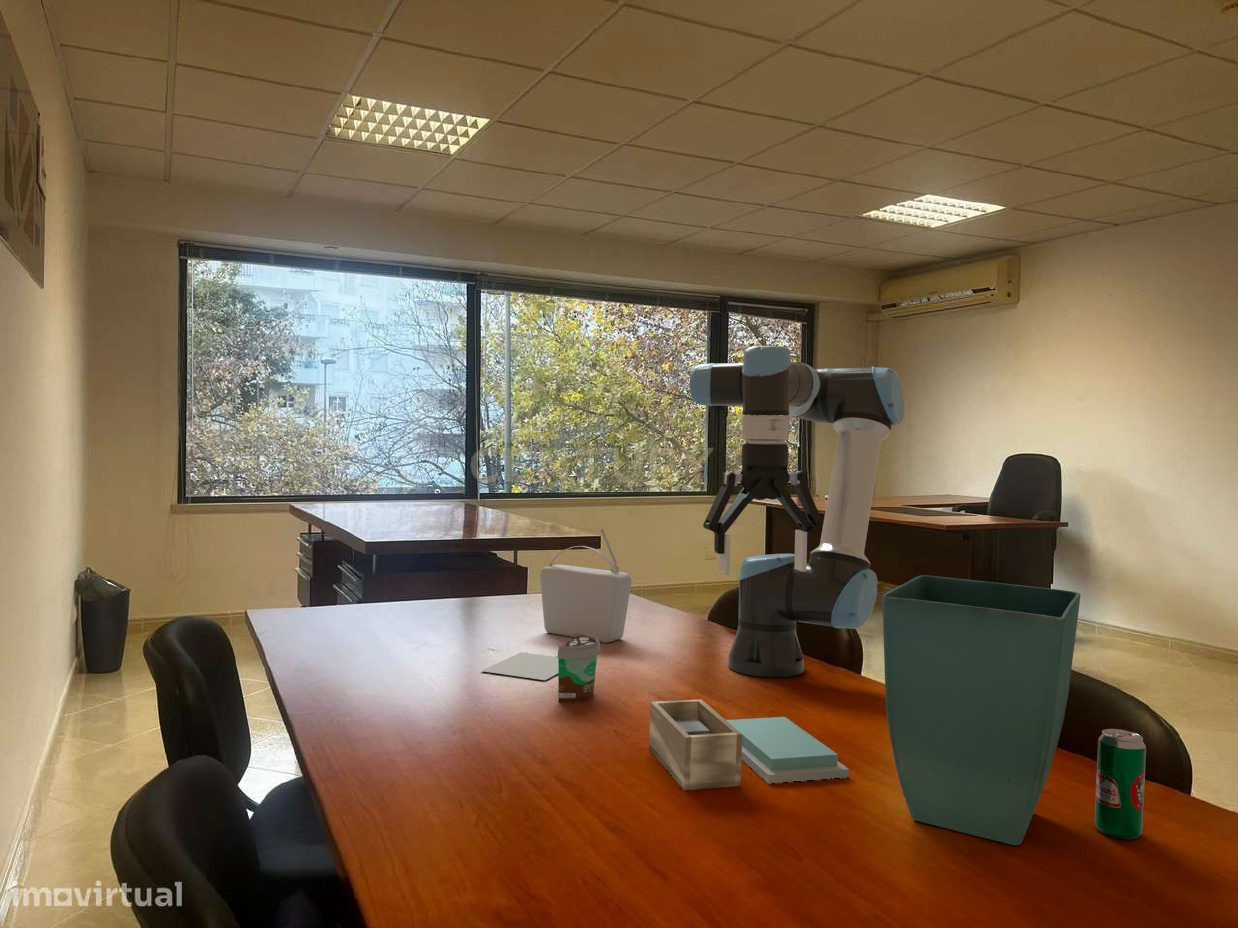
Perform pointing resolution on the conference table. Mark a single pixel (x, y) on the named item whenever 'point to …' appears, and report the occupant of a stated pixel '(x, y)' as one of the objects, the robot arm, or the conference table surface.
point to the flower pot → (976, 698)
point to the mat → (793, 771)
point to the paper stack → (527, 666)
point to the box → (695, 744)
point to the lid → (783, 744)
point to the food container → (577, 668)
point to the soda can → (1120, 784)
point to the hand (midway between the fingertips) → (762, 572)
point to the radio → (585, 599)
